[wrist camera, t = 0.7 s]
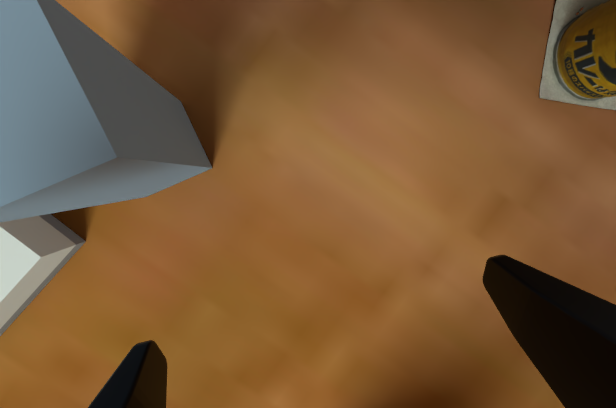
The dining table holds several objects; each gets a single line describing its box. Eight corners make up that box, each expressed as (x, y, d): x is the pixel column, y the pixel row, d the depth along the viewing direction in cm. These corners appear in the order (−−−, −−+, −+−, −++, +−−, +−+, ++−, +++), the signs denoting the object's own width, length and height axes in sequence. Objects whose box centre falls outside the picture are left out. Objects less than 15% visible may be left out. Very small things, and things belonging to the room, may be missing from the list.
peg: (212, 167, 21) (117, 157, 8) (146, 196, 21) (-62, 233, 8) (180, 101, 20) (24, -25, 7) (112, 130, 20) (-174, 50, 7)
